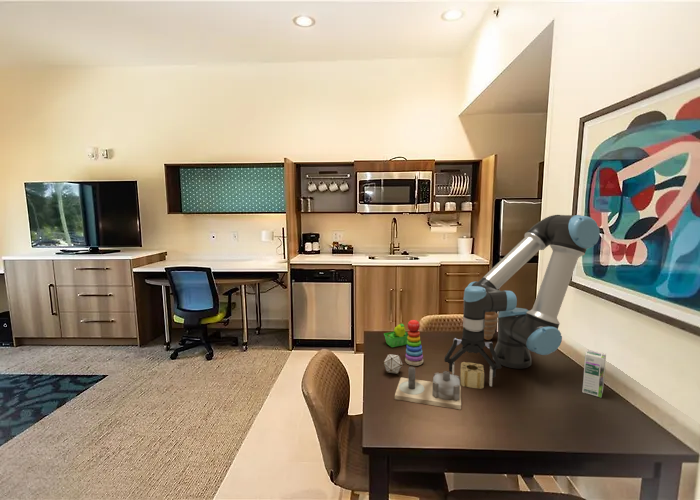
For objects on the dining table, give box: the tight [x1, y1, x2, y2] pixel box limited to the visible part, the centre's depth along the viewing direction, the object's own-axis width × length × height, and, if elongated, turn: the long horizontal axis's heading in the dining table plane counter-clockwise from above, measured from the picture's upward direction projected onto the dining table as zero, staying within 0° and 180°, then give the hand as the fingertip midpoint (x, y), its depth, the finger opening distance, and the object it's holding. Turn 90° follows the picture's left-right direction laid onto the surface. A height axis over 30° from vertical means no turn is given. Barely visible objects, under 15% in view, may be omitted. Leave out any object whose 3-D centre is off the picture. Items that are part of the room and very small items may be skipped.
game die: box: [381, 351, 405, 377], centre depth 138 cm, size 9×8×10 cm
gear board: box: [394, 366, 462, 410], centre depth 122 cm, size 22×13×9 cm, turn 72°
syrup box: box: [581, 349, 607, 398], centre depth 122 cm, size 6×6×14 cm
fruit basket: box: [383, 323, 409, 348], centre depth 166 cm, size 11×9×11 cm
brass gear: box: [459, 361, 485, 390], centre depth 130 cm, size 8×8×6 cm
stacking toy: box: [404, 319, 425, 367], centre depth 146 cm, size 8×8×19 cm
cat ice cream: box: [484, 312, 499, 341], centre depth 170 cm, size 9×8×18 cm
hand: (471, 382), depth 130 cm, fingers open, 13 cm apart
